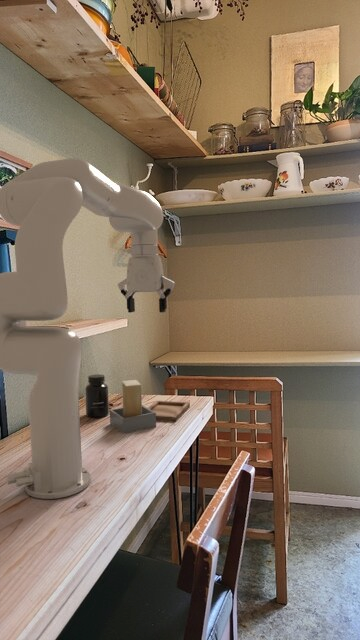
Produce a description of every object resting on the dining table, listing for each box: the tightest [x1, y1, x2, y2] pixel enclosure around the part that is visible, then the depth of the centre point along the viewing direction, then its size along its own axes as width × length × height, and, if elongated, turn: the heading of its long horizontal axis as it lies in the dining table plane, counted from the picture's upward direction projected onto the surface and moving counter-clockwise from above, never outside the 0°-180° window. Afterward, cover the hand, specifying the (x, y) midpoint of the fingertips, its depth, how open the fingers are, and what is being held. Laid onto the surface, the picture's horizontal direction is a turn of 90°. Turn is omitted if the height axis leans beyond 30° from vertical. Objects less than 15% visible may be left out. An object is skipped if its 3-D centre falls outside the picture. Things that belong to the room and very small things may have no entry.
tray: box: [147, 400, 191, 423], centre depth 134 cm, size 15×11×1 cm
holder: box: [109, 404, 157, 434], centre depth 123 cm, size 10×10×4 cm
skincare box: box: [121, 379, 143, 418], centre depth 123 cm, size 6×4×12 cm
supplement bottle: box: [84, 374, 110, 419], centre depth 133 cm, size 7×7×12 cm
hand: (146, 312), depth 127 cm, fingers open, 9 cm apart
